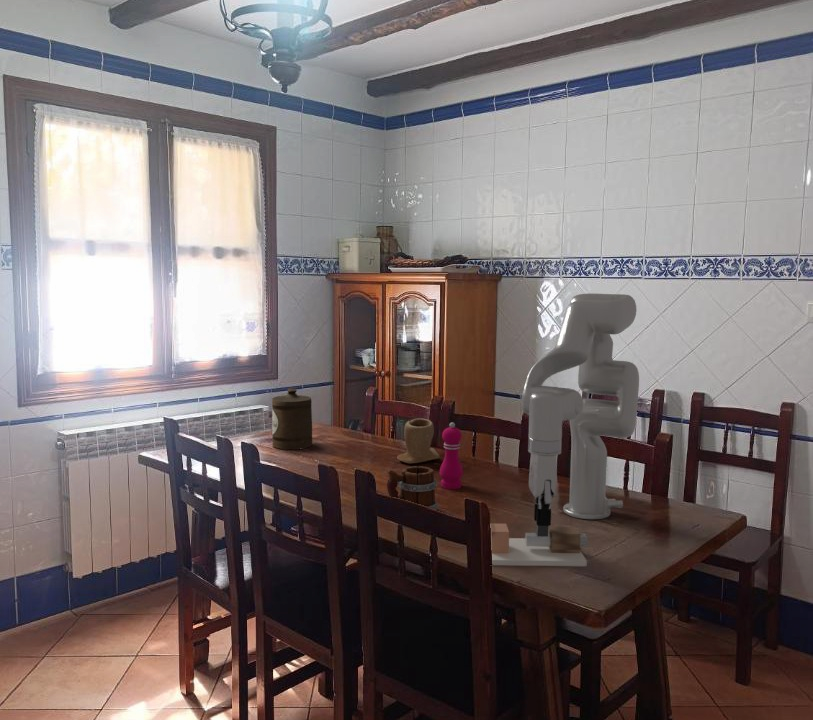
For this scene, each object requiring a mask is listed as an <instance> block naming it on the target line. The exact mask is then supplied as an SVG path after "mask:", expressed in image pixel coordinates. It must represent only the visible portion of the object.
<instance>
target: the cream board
mask: <svg viewBox="0 0 813 720" xmlns="http://www.w3.org/2000/svg"><path fill="white" fill-rule="evenodd" d="M492 564H493V565H492V566H525V567H526V566H527V567H529V566H531V567H533V566H536V567H538V566H539V567H540V566H541V567H545V566H546V567H587V566H588V565H587V564H588V560H587V559H586V558H585V556H584V554H583V552H582V551H581V550H580V553H551V551H550V549H549V547H540V546H526V544H525V537H524V538H523V537H521V538H520V537H518V538H517V537H515V538H514V537H509V553H492Z"/></svg>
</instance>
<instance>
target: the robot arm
mask: <svg viewBox="0 0 813 720" xmlns="http://www.w3.org/2000/svg"><path fill="white" fill-rule="evenodd" d="M635 300H636V299H634V297H632V296H631V295H629V294H621V293H620V294H619V293H618V294H617V293H580V294H576V295H574V296H573V297H571V299H570V301H569V304H568V306H567V307H566V309H565V312H564V315H563V318H562V321H561V325H560V329H559V332H558V336H557V338H556V342H555V346H554V348H553V349H552V350H550V351H548V352H547V353H545V354H544V355H543V356H542V357H540V359H539V360H537V361H536V362H535V364H533V366H532V367H531V369H530V370H529V371H528V374H527V375H526V380H525V383H524V386H523V388H522V393H521V399H520V404H521V408H522V411H523V412H524V413H525V414H526V415H527V416H528V440H527V441H528V445H527V451H528V453H529V454H530V460H529V463H530V464H529V474H528V489H529V490H530V492H531V494H532V496H533V497H534V514H533V519H534V521H535V522H536V516H537V525H538V526H548V527H551V524H552V523H551V522H552V499H553V498H555V497H556V495H557V480H558V479H557V478H558V474H557V473H558V467H557V466H558V462H557V461H558V459H557V457H558V456H559V455H561V454H562V438H563V422H564V421H568V422H569V427H570V436H571V440H570V442H571V444H570V447H571V451H570V471H569V472H570V475H569V476H570V477H569V501H568V502H566V504H564V505H563V512H564V513H565V514H566V515H568V516H570V517H573V518H577V519H584V520H602V519H607V518H609V517H610V516H611V509H612V508H618V509H620V508H623V507H624V501H623V500H616V498H608V497H607V496H606V487H607V486H606V485H607V467H608V465H607V462H608V450H607V447H606V444H605V443H604V441H603V439H602V438H601V436H602V437H603V436H604V437H610V438H611V437H613V438H621V439H624V438H625V439H626V438H629V437H631V436H632V435H633V434H634V432H635V429H636V425H637V424H636V423H637V414H638V413H637V411H638V402H639V401H638V400H639V390H640V374H639V369H638V367H637V366H636V364H634V363H633V362H630V361H627V360H614V359H613V351H614V340H613V338H612V336H611V335H618V334H619V335H620V334H621V333H623V332H624V331H625V330H626V329H628V328H630V327H631V325H633V323H634V321H635V318H636V317H637V303H636V301H635ZM575 367H578V373H577V374H578V376H577V383H578V388H579V389H580V390H581V391H582V392H584V393H587V394H591V395H599V396H600V395H601V396H609V397H610V396H611V397H613V396H614V397H617V398H618V400H617V401H616V400H607V399H606V400H605V399H598V398H597V399H596V398H583V396H582V394H580V392H579V391H578V390H577V389H576V390H575V389H573V388H569V387H568V388H567V387H558V386H548V385H543V384H544V383H545V382H546V380H548V379H549V378H551V377H552V376H553V375H556V374H558V373H561V372H564V371H567V370H570V369H572V368H575ZM537 503H538V508H537Z"/></svg>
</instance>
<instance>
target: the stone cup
mask: <svg viewBox="0 0 813 720" xmlns="http://www.w3.org/2000/svg"><path fill="white" fill-rule="evenodd" d="M434 428H435V427H434V423H433V421H431V420H430V419H427V418H421V417H420V418H414V419H411V420H408V421H406V423H405V424H404V428H403V429H404V430H403V438H404V443H405V447H406V452H403V453H401V454H398V455H397V456H396V458H397V460H398V461H400V462H402V463H406V464H419V463H423V462H424V463H425V462H429V461H432V460H438V459H440V455H439V453H438V452H437V451H436V449H435V448H433V447H431V445H432V440H433V437H434V434H435V432H434V431H435V429H434Z"/></svg>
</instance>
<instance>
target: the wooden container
mask: <svg viewBox="0 0 813 720" xmlns="http://www.w3.org/2000/svg"><path fill="white" fill-rule="evenodd" d="M271 400H272V401H271V404H272V405H271V407H272V410H271V411H272V412H271V413H272V416H271V417H272V419H271V420H272V422H271V423H272V427H271V428H272V429H271V430H272V431H271V432H272V447H273V446H274V447H273V448H275V447H276V448H275V449H278V448H280V449H279V450H284V449H296V450H301V449H300V448H304V449H308V448H310V447H312V446H313V419H312V417H313V415H312V414H313V413H312V412H313V411H312V397H311V396H307V395H302V394H300V395H298V394H297V389H296V388H295V387H289V388H288V389H287V394H285V395H278V396H274V397H272V399H271ZM311 445H312V446H311ZM307 447H308V448H307Z"/></svg>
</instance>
